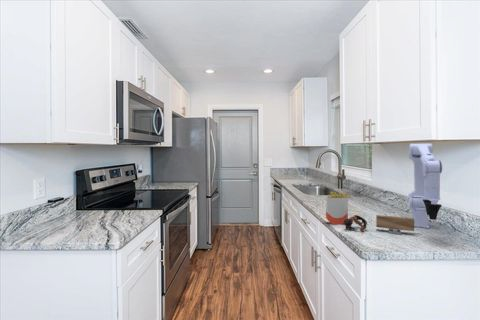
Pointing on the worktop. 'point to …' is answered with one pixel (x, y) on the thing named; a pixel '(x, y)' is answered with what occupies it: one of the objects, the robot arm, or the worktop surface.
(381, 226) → the batten
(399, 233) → the fulcrum
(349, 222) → the dark brown curved piece
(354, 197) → the worktop surface
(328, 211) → the french fries container
